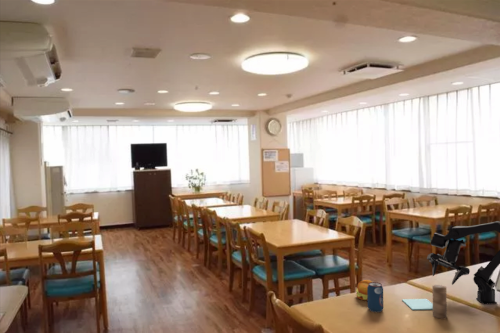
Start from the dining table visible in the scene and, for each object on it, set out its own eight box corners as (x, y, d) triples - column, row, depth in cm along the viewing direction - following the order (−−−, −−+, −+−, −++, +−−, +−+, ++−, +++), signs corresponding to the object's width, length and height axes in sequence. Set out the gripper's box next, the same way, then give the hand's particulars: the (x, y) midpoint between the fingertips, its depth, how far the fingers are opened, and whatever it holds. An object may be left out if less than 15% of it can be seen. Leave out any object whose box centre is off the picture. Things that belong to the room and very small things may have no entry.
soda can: (384, 313, 177) (384, 286, 177) (368, 312, 178) (368, 286, 178) (382, 307, 184) (382, 281, 183) (366, 306, 185) (366, 281, 185)
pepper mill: (442, 313, 176) (442, 284, 175) (449, 318, 170) (448, 288, 170) (430, 313, 175) (430, 284, 175) (436, 318, 170) (436, 289, 170)
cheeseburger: (374, 293, 201) (375, 276, 199) (378, 306, 191) (380, 288, 188) (354, 293, 202) (354, 276, 200) (357, 306, 192) (358, 288, 189)
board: (426, 299, 192) (426, 298, 192) (438, 309, 180) (438, 308, 180) (402, 300, 192) (402, 299, 192) (412, 310, 180) (412, 308, 180)
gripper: (464, 261, 201) (455, 290, 197) (428, 245, 206) (418, 273, 201) (474, 258, 191) (464, 288, 187) (435, 241, 195) (425, 270, 191)
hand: (442, 280), depth 192 cm, fingers open, 9 cm apart
